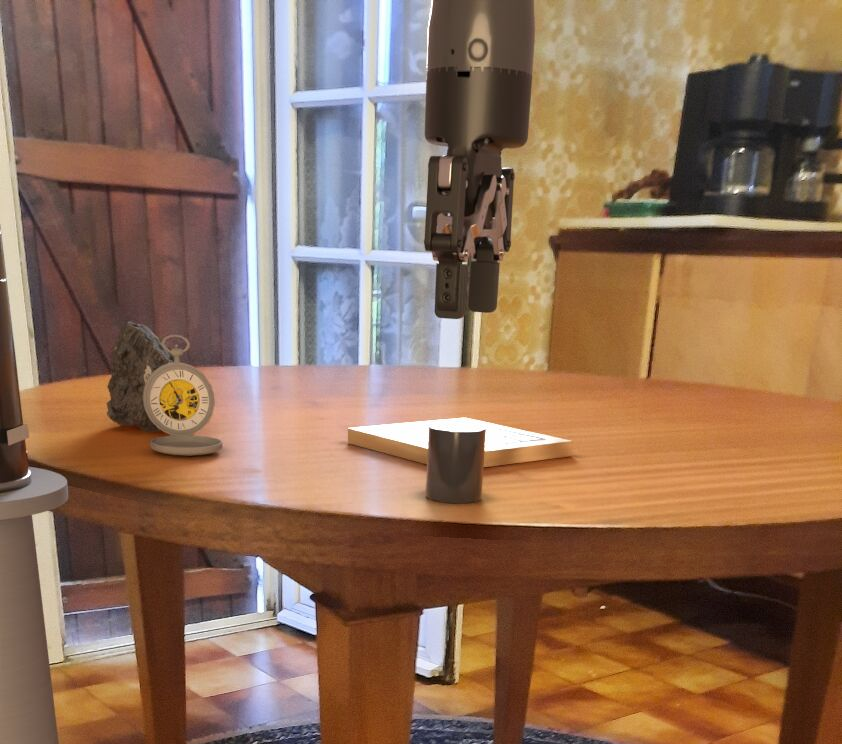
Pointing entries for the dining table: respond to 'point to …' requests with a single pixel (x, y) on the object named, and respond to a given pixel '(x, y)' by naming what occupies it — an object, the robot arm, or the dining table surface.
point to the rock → (136, 375)
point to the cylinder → (455, 462)
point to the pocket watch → (180, 406)
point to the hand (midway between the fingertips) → (466, 315)
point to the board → (499, 441)
